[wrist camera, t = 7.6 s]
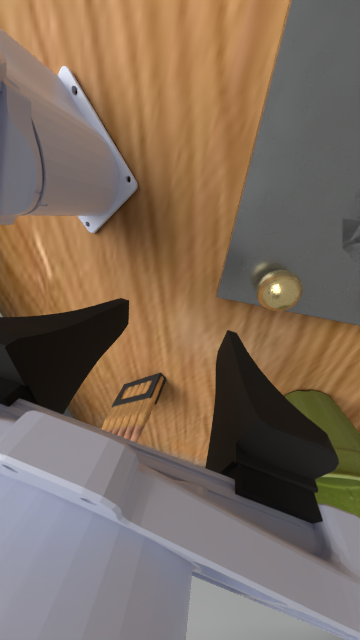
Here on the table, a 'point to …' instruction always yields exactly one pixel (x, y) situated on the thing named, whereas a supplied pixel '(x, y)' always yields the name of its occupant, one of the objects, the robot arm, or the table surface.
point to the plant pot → (350, 446)
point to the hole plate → (305, 168)
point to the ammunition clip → (134, 407)
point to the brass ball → (279, 290)
